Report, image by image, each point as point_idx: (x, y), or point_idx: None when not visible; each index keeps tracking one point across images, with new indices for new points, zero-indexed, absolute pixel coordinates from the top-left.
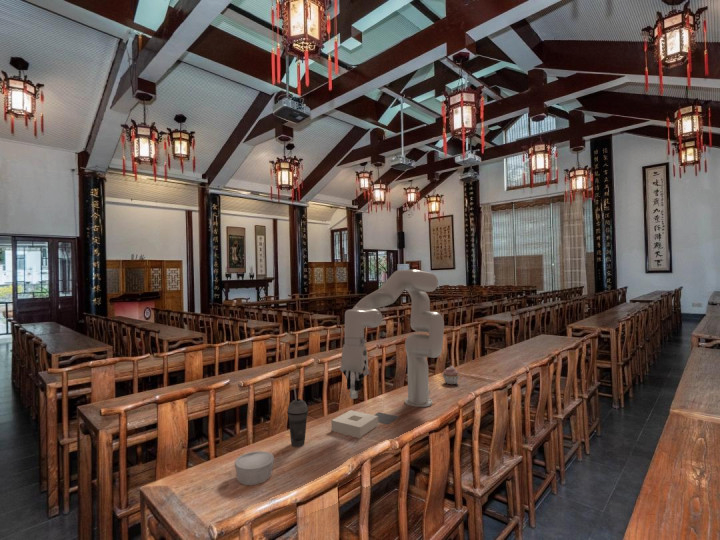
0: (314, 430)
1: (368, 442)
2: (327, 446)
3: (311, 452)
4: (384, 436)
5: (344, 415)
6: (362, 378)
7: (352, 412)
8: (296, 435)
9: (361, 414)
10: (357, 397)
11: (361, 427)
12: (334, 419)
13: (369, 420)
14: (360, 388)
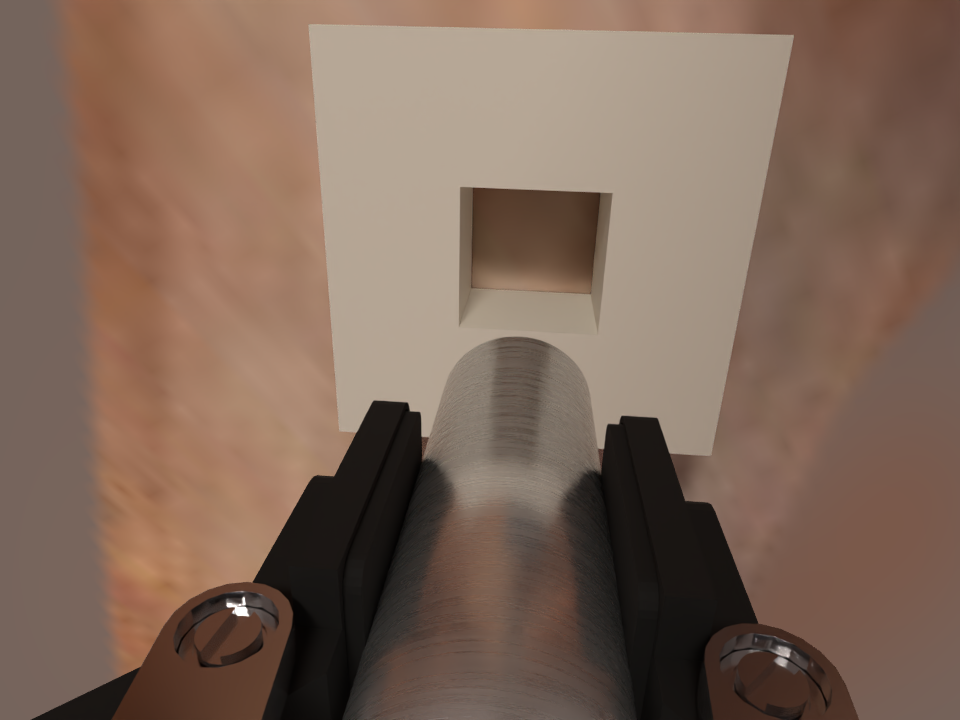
0: (237, 434)
1: (790, 432)
2: None
3: None
4: (904, 256)
5: (365, 248)
6: (827, 674)
7: (387, 100)
8: None
9: (538, 104)
10: (590, 400)
11: (713, 430)
12: (351, 402)
13: (733, 245)
14: (655, 436)
